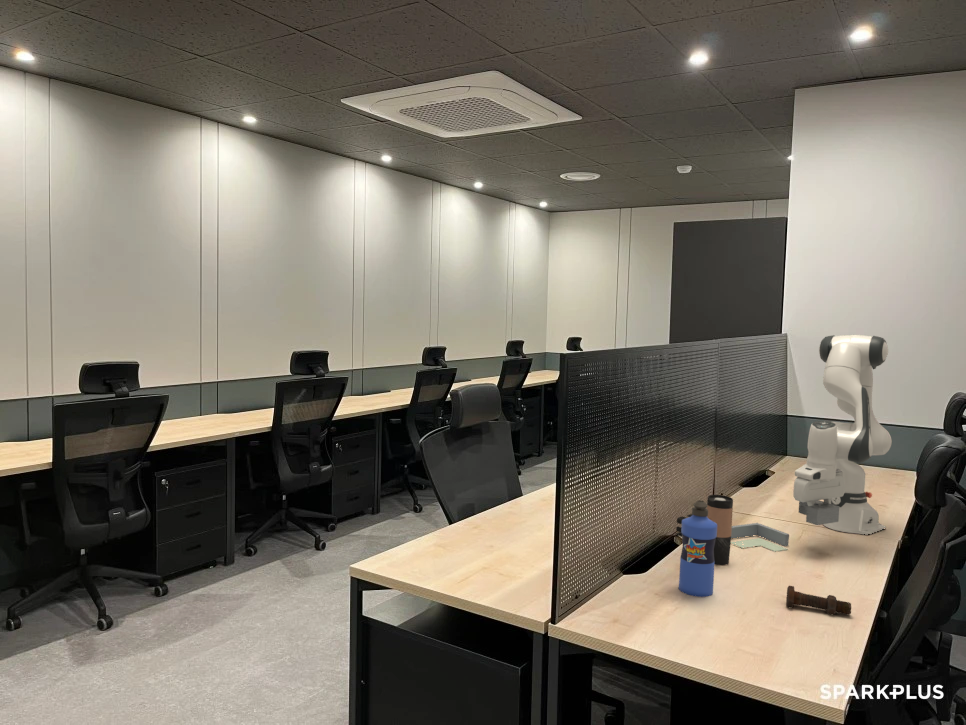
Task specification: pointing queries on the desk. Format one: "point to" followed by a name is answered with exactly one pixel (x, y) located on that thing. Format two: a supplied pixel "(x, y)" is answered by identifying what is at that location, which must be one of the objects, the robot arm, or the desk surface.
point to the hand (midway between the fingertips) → (818, 512)
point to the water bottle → (697, 552)
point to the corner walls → (760, 533)
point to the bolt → (817, 602)
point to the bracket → (819, 512)
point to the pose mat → (759, 544)
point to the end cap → (679, 520)
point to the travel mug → (721, 525)
